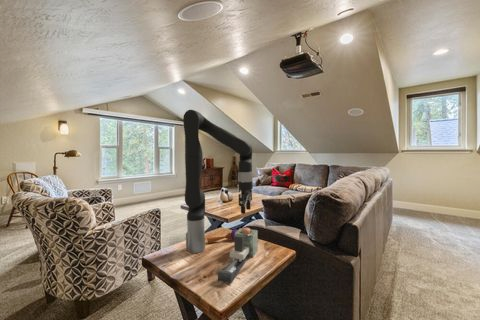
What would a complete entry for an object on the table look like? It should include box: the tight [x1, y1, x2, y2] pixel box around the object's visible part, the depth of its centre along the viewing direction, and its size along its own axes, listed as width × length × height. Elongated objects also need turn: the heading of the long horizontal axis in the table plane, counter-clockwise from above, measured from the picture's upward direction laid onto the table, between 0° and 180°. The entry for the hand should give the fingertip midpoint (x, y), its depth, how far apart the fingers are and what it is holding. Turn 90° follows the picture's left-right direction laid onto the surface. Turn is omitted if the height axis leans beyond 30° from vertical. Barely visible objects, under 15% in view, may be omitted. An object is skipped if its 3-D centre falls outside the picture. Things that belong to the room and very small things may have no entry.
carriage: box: [229, 234, 249, 262], centre depth 105 cm, size 8×7×11 cm
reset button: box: [242, 227, 251, 234], centre depth 114 cm, size 4×4×4 cm
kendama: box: [206, 229, 239, 244], centre depth 130 cm, size 6×6×20 cm
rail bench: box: [217, 227, 259, 284], centre depth 104 cm, size 32×10×11 cm, turn 159°
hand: (245, 211), depth 114 cm, fingers open, 7 cm apart
